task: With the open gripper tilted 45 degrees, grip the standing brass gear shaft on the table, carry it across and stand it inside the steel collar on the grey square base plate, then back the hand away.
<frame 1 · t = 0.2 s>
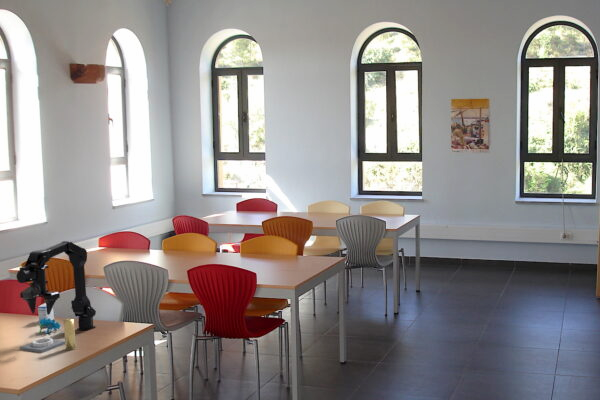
hand: (40, 313, 348), 14 cm above the table, tool pointing down, fingers open, 9 cm apart
grey square base plate: (43, 346, 347), on the table
brass shaft: (71, 348, 341), on the table
medicine box: (46, 321, 393), on the table
gear: (49, 332, 372), on the table
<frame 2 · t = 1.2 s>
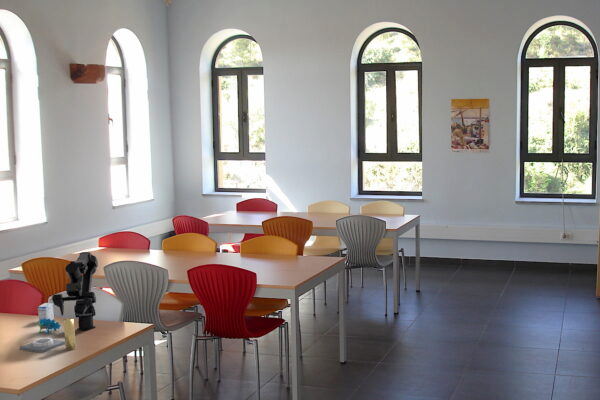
hand: (72, 314, 348), 13 cm above the table, tool tilted 45°, fingers open, 9 cm apart
nothing on the table moved.
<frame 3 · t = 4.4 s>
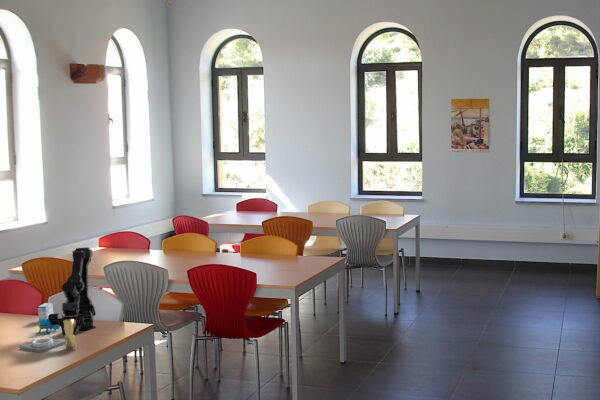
hand: (69, 334, 339), 7 cm above the table, tool tilted 45°, fingers closed on brass shaft, 4 cm apart
brass shaft: (71, 348, 341), on the table, touching gripper
everything else where it was.
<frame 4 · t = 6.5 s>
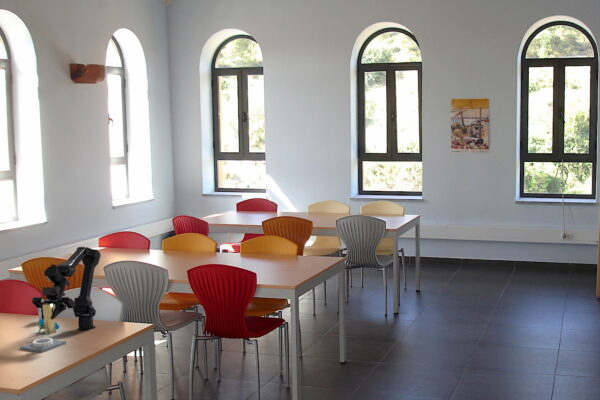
hand: (47, 319, 342), 13 cm above the table, tool tilted 45°, fingers closed on brass shaft, 4 cm apart
brass shaft: (50, 332, 344), point 7 cm above the table, touching gripper
everything else where it was.
when the fingers open (10 cm above the table, at t = 8.7 s): brass shaft drops 2 cm, resting on grey square base plate.
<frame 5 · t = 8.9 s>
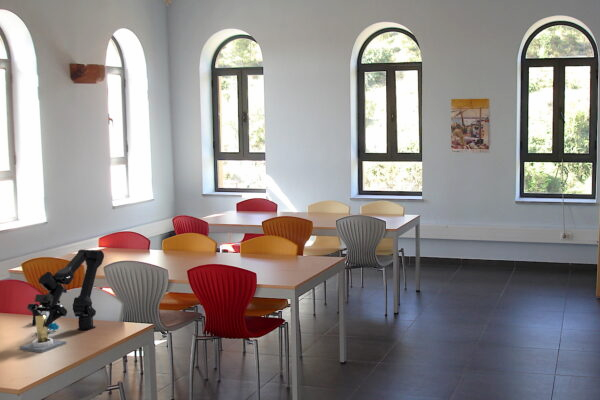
hand: (39, 326, 345), 10 cm above the table, tool tilted 45°, fingers open, 7 cm apart
brass shaft: (43, 344, 347), point 1 cm above the table, touching grey square base plate
everything else where it was.
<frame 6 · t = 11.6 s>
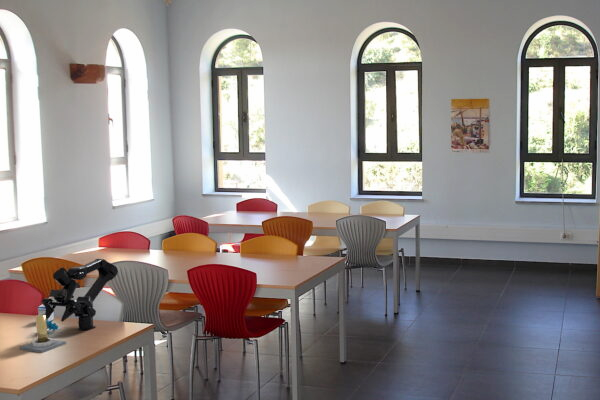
hand: (53, 320, 353), 10 cm above the table, tool tilted 45°, fingers open, 9 cm apart
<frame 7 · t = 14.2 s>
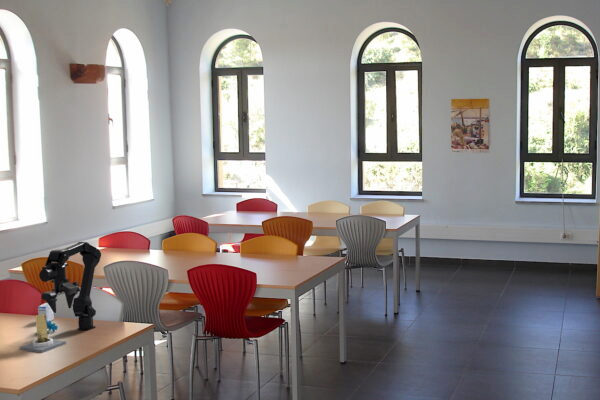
hand: (62, 310, 358), 13 cm above the table, tool pointing down, fingers open, 9 cm apart
at the end: brass shaft 0.1 cm off-centre on the grey square base plate, point 1.2 cm above the grey square base plate's base; brass shaft tilted 1°; the gripper is holding nothing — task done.
